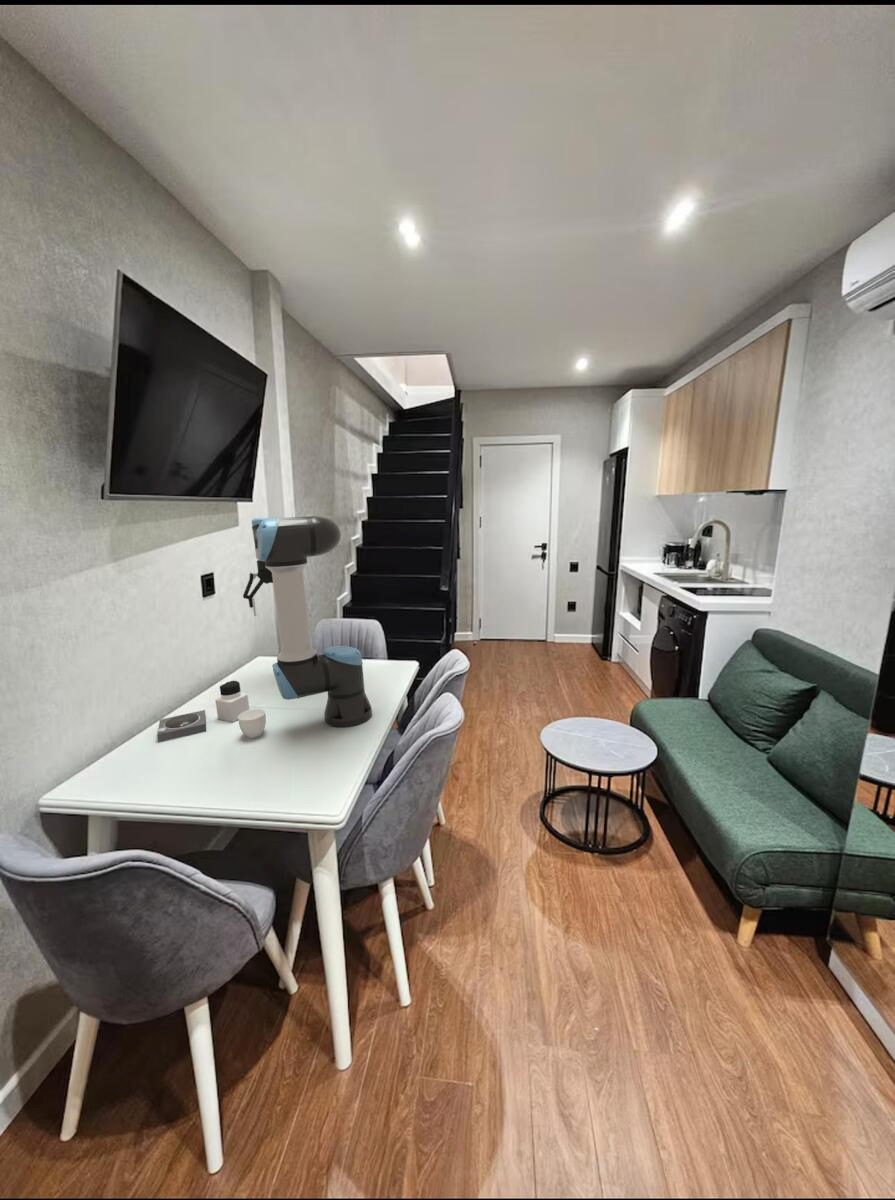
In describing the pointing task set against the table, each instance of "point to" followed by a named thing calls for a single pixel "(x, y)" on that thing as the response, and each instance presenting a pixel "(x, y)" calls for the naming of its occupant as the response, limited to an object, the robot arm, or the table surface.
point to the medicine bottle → (231, 701)
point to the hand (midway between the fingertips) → (273, 613)
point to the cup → (252, 722)
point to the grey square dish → (181, 725)
